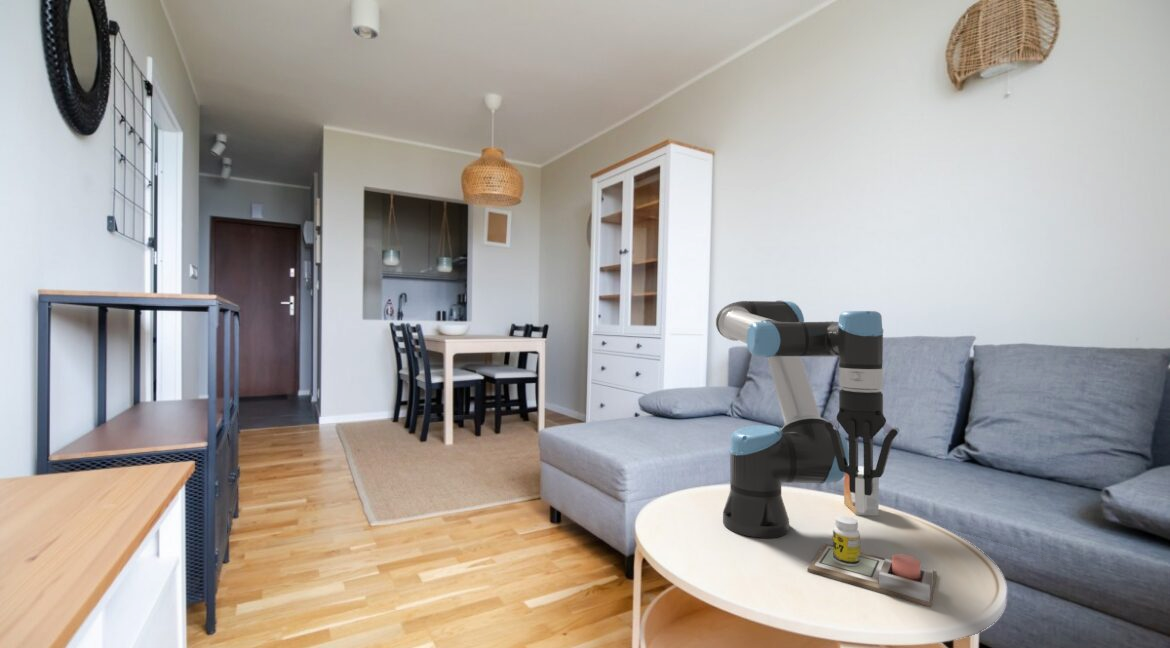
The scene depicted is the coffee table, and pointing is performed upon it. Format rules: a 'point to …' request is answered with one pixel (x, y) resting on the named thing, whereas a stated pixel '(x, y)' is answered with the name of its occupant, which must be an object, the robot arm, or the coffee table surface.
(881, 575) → the board
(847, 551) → the supplement bottle
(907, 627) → the coffee table surface
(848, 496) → the small box
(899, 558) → the button
